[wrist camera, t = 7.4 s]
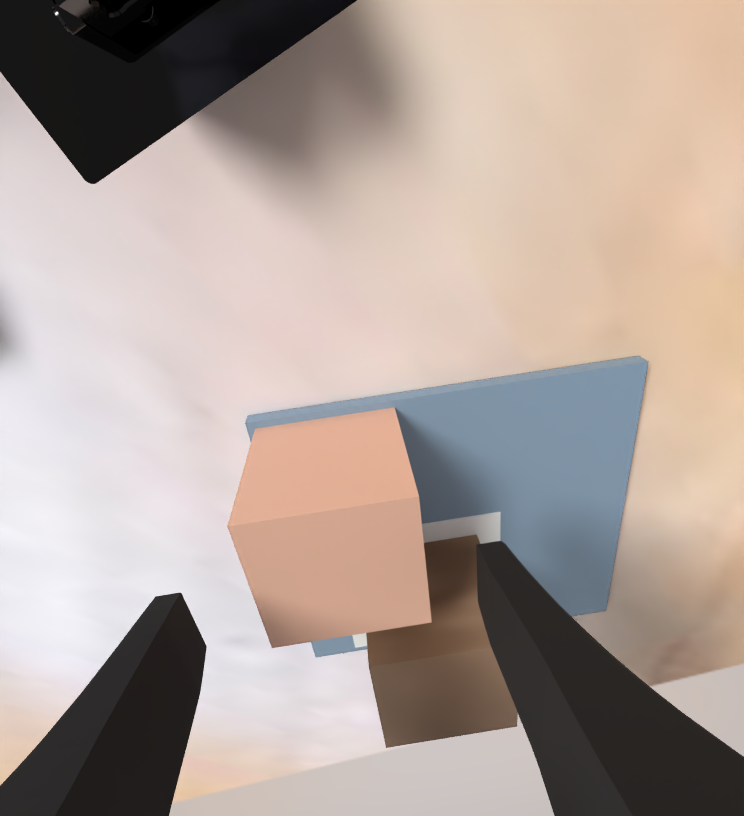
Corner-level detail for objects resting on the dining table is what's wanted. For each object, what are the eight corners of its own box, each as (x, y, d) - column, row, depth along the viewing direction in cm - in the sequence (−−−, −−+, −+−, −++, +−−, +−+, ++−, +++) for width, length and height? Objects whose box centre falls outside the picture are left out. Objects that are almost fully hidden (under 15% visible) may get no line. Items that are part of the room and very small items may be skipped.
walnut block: (476, 534, 17) (520, 642, 13) (478, 612, 20) (516, 726, 16) (359, 552, 17) (369, 667, 13) (374, 629, 19) (386, 747, 15)
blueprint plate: (638, 355, 15) (649, 361, 15) (600, 601, 21) (606, 611, 20) (247, 415, 15) (244, 424, 14) (315, 646, 21) (315, 658, 20)
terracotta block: (394, 407, 15) (419, 496, 11) (407, 514, 17) (431, 622, 13) (254, 428, 15) (227, 526, 11) (285, 533, 17) (272, 647, 13)
